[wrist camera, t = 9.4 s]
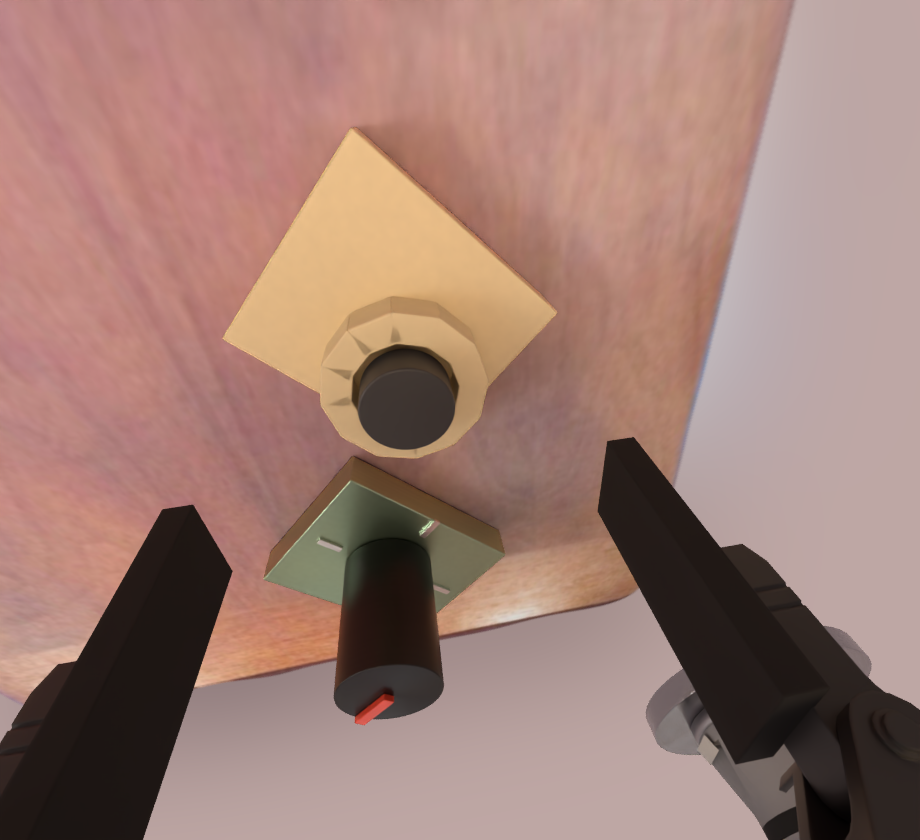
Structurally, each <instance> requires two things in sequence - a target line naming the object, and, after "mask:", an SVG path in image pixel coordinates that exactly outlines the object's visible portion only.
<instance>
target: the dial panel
mask: <svg viewBox="0 0 920 840" xmlns="http://www.w3.org/2000/svg"><path fill="white" fill-rule="evenodd" d="M385 539H399V540H405V541H409V542H412V543H414V544H416V545H418V546H420V547H421V548H423V549H424V550H425V551H426V553H427V554H428V555H429V557H430V560H431V568H432V577H433V587H434V596H435V606H436V613H438V612H439V611H440V610H441V609H442V608H443V607H445V606H446V605H447V604H448V603H449V602H451V601H452V600H453V599H454V598H455V597H456V596H458V595H459V594H460V593H461V592H462V591H464V590H465V589H466V588H467V587H468V586H469V585H471V584H472V583H473V582H474V581H475V580H477V579H478V578H479V577H480V576H481V575H482V574H484V573H485V572H486V571H487V570H488V569H490V568H491V567H492V566H493V565H494V564H495V563H497V562H498V561H499V560H500V559H501V558H503V557H504V556H505V551H504V547H503V544H502V540H501V536H500V533H499V531H498V530H497V529H495V528H493V527H491V526H489V525H487V524H485V523H483V522H481V521H479V520H477V519H475V518H473V517H471V516H469V515H467V514H465V513H463V512H462V511H460V510H458V509H456V508H454V507H452V506H450V505H448V504H446V503H444V502H442V501H440V500H438V499H436V498H434V497H432V496H430V495H428V494H426V493H424V492H422V491H420V490H418V489H417V488H415V487H413V486H411V485H409V484H407V483H405V482H403V481H401V480H399V479H397V478H395V477H393V476H391V475H389V474H387V473H385V472H383V471H381V470H379V469H377V468H375V467H374V466H372V465H370V464H368V463H366V462H364V461H362V460H360V459H358V458H356V457H354V456H353V457H351V459H350V460H349V461H348V462H347V463H346V465H345V466H344V467H343V468H342V469H341V470H340V472H339V473H338V474H337V475H336V476H335V477H334V479H333V480H332V481H331V482H330V483H329V484H328V486H327V487H326V488H325V489H324V490H323V491H322V493H321V494H320V495H319V496H318V497H317V498H316V500H315V501H314V502H313V503H312V504H311V505H310V507H309V508H308V509H307V510H306V511H305V512H304V514H303V515H302V516H301V517H300V518H299V519H298V521H297V522H296V523H295V524H294V525H293V526H292V528H291V529H290V530H289V531H288V532H287V534H286V535H285V536H284V537H283V538H282V539H281V541H280V542H279V543H278V544H277V545H276V546H275V548H274V549H273V550H272V551H271V552H270V556H269V560H268V563H267V567H266V571H265V575H264V580H266V581H269V582H272V583H275V584H278V585H281V586H284V587H287V588H290V589H293V590H296V591H299V592H302V593H305V594H308V595H311V596H314V597H317V598H320V599H323V600H326V601H330V602H333V603H336V604H339V605H342V596H343V585H344V573H345V565H346V562H347V560H348V559H349V557H350V556H351V555H352V553H354V552H355V551H356V550H357V549H359V548H360V547H362V546H364V545H366V544H368V543H371V542H374V541H379V540H385Z"/></svg>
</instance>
